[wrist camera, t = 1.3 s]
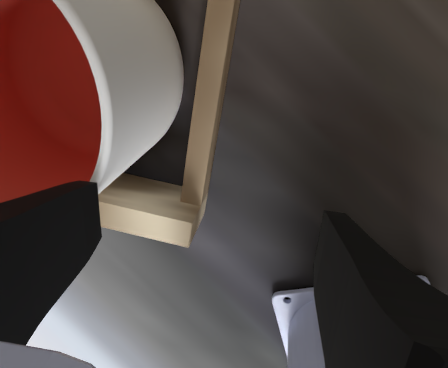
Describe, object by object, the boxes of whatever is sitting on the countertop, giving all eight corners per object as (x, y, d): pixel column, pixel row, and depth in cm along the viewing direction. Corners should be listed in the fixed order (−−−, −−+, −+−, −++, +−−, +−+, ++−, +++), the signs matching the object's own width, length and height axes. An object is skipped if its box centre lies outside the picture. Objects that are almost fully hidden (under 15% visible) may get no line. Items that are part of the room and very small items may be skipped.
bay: (251, -68, 18) (241, -91, 14) (204, 213, 24) (188, 247, 20) (21, -106, 19) (-45, -138, 15) (32, 173, 25) (-13, 199, 21)
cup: (48, -73, 19) (-175, -162, 10) (222, 30, 20) (162, 35, 10) (2, 101, 23) (-186, 151, 14) (147, 182, 24) (56, 282, 15)
